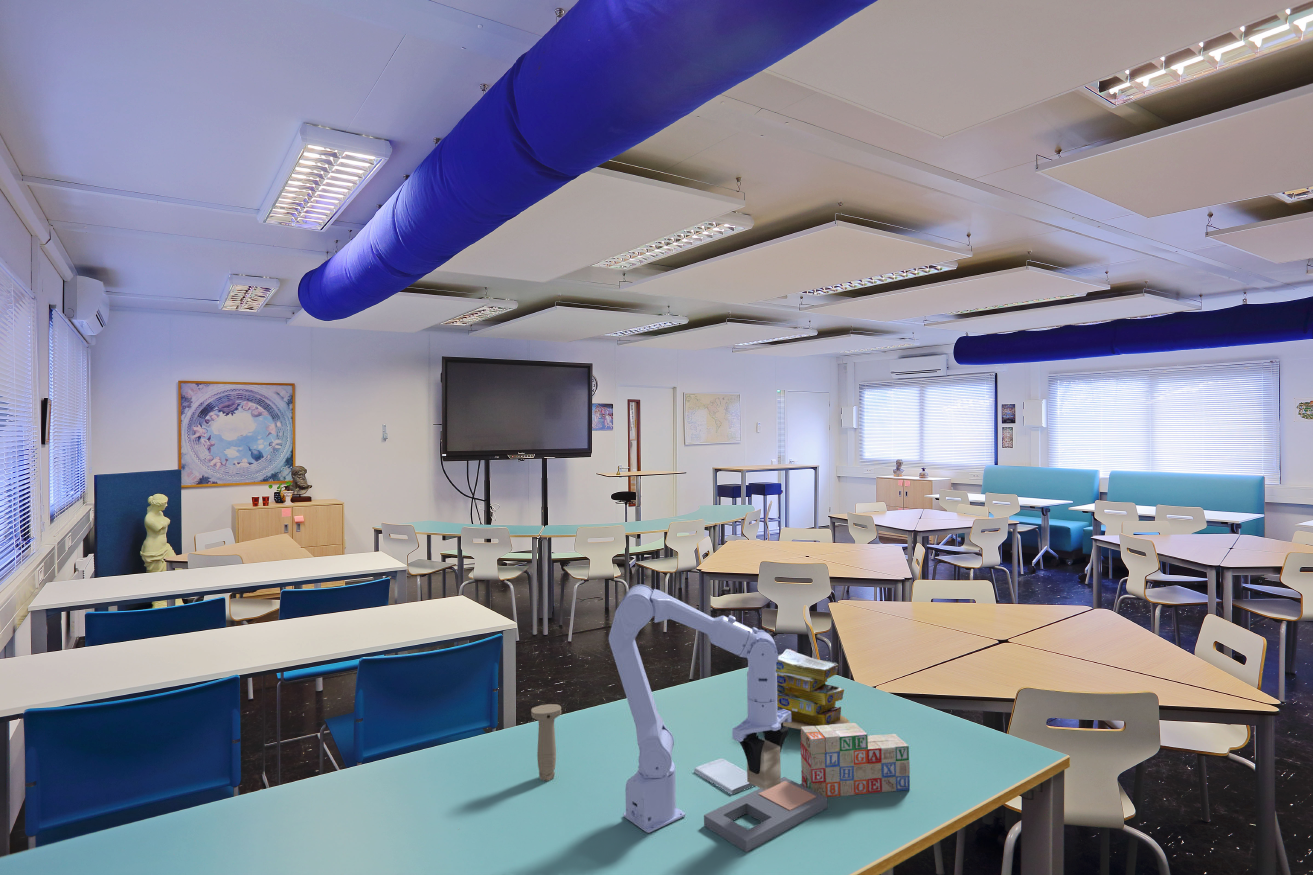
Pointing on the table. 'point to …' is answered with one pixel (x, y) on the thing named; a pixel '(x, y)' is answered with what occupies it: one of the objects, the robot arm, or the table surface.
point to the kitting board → (765, 813)
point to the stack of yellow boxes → (807, 690)
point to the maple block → (767, 768)
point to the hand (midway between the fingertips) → (763, 767)
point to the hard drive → (724, 775)
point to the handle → (546, 739)
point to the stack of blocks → (852, 761)
